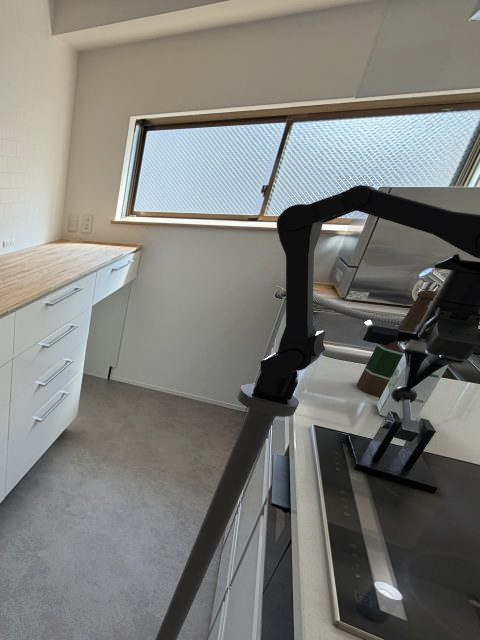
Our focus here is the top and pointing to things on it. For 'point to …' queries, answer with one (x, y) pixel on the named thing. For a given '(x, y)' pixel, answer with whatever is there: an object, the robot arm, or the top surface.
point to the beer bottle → (392, 349)
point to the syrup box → (422, 388)
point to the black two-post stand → (394, 454)
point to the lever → (406, 413)
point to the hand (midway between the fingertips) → (408, 387)
